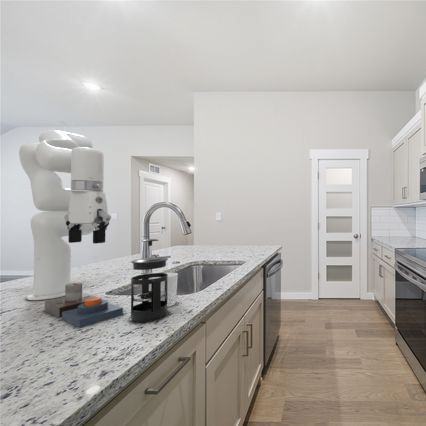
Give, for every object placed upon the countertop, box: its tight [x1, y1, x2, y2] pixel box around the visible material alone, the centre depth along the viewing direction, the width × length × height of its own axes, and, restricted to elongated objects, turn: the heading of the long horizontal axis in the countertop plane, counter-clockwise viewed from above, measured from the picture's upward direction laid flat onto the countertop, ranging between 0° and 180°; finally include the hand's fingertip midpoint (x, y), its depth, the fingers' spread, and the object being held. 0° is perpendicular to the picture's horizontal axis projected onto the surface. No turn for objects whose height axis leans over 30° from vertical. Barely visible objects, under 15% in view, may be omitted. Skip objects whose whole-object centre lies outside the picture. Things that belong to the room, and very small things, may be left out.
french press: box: [129, 238, 169, 324], centre depth 74 cm, size 12×9×23 cm
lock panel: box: [44, 292, 103, 319], centre depth 81 cm, size 12×10×3 cm
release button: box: [85, 296, 102, 306], centre depth 75 cm, size 4×4×2 cm
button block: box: [61, 299, 124, 329], centre depth 75 cm, size 12×10×4 cm
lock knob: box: [64, 281, 83, 302], centre depth 81 cm, size 4×4×5 cm
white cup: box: [151, 272, 179, 308], centre depth 85 cm, size 8×8×10 cm
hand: (87, 242), depth 79 cm, fingers open, 9 cm apart
